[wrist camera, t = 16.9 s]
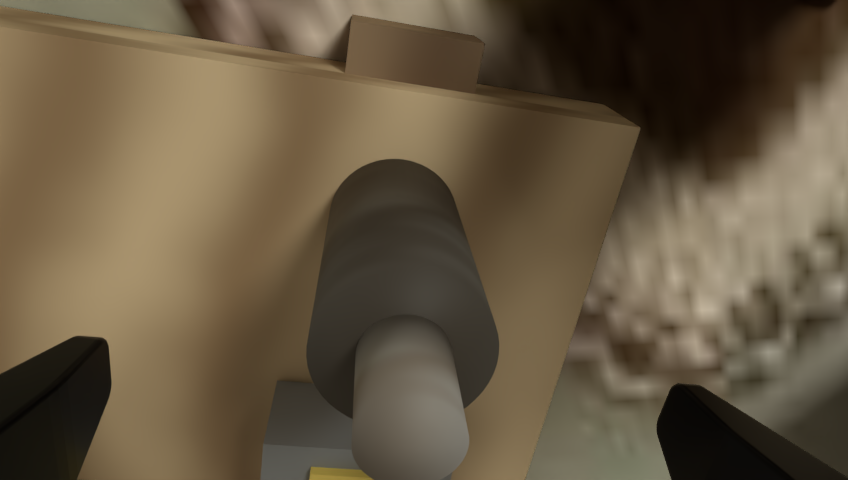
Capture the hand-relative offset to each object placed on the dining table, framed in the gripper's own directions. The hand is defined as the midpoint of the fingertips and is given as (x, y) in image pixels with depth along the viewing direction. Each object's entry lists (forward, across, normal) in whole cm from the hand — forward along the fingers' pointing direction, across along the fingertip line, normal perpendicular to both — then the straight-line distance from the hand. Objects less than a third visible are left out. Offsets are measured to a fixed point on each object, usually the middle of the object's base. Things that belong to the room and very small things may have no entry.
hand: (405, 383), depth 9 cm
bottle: (+10, 0, +1) cm, 10 cm away
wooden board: (+13, +4, +5) cm, 14 cm away
